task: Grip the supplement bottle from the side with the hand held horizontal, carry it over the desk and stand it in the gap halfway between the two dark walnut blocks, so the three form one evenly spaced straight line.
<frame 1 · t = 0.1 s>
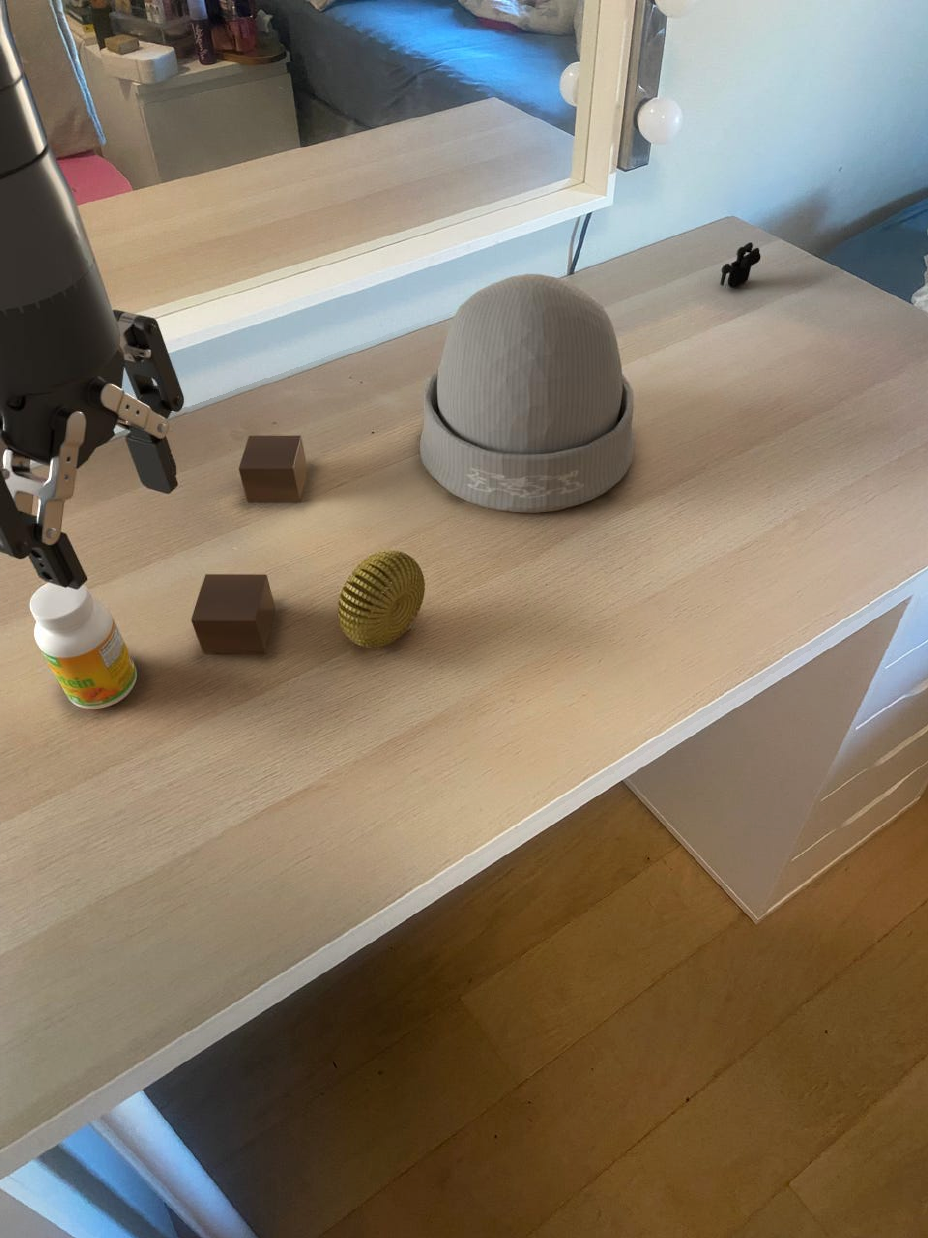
hand: (117, 532, 52), 20 cm above the table, tool pointing down, fingers open, 8 cm apart
sculpture: (386, 634, 73), on the table
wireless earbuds: (739, 287, 109), on the table
block near: (240, 630, 73), on the table
block far: (278, 485, 85), on the table
beanie hat: (526, 448, 89), on the table
supplement bottle: (103, 685, 70), on the table
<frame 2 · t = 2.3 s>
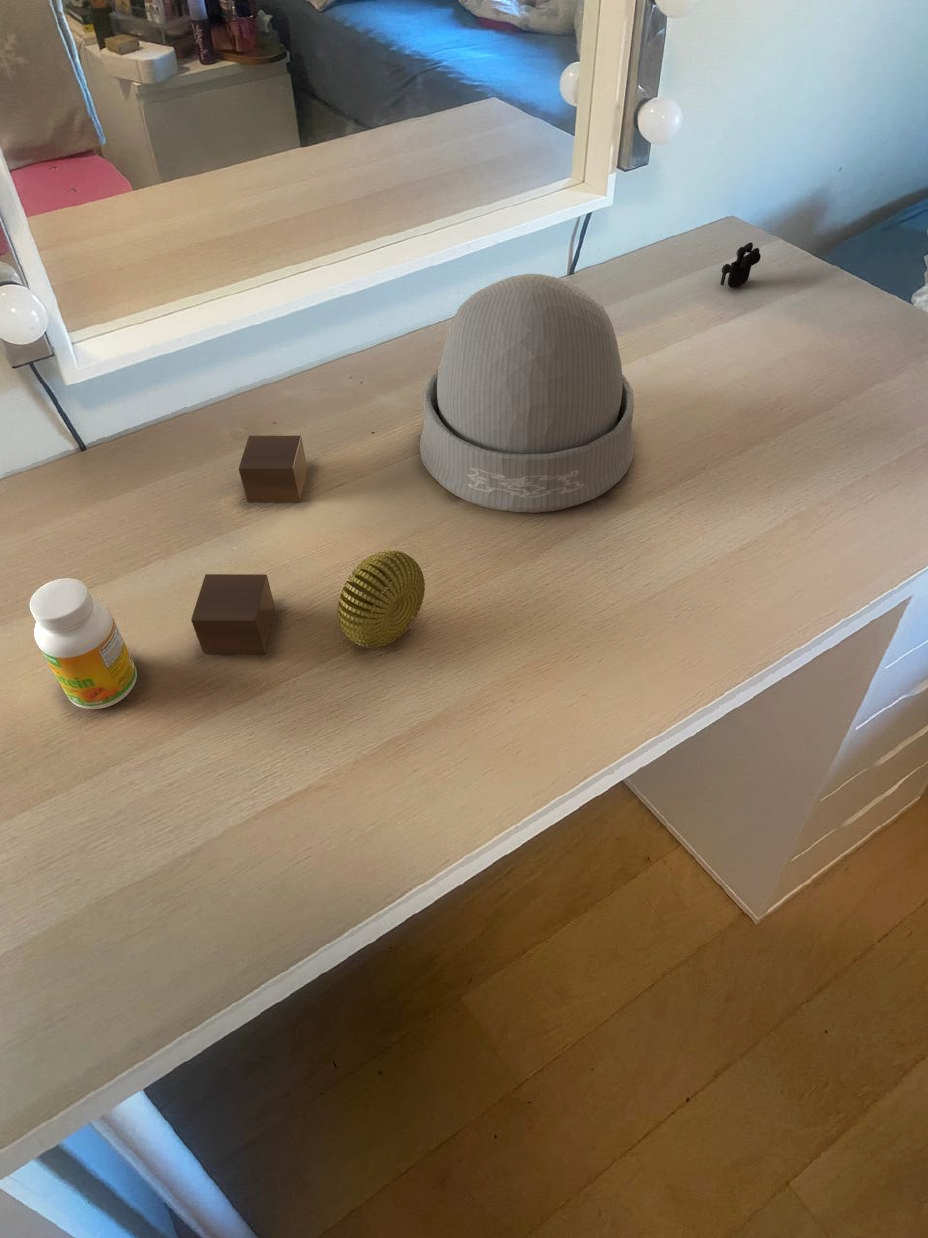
nothing on the table moved.
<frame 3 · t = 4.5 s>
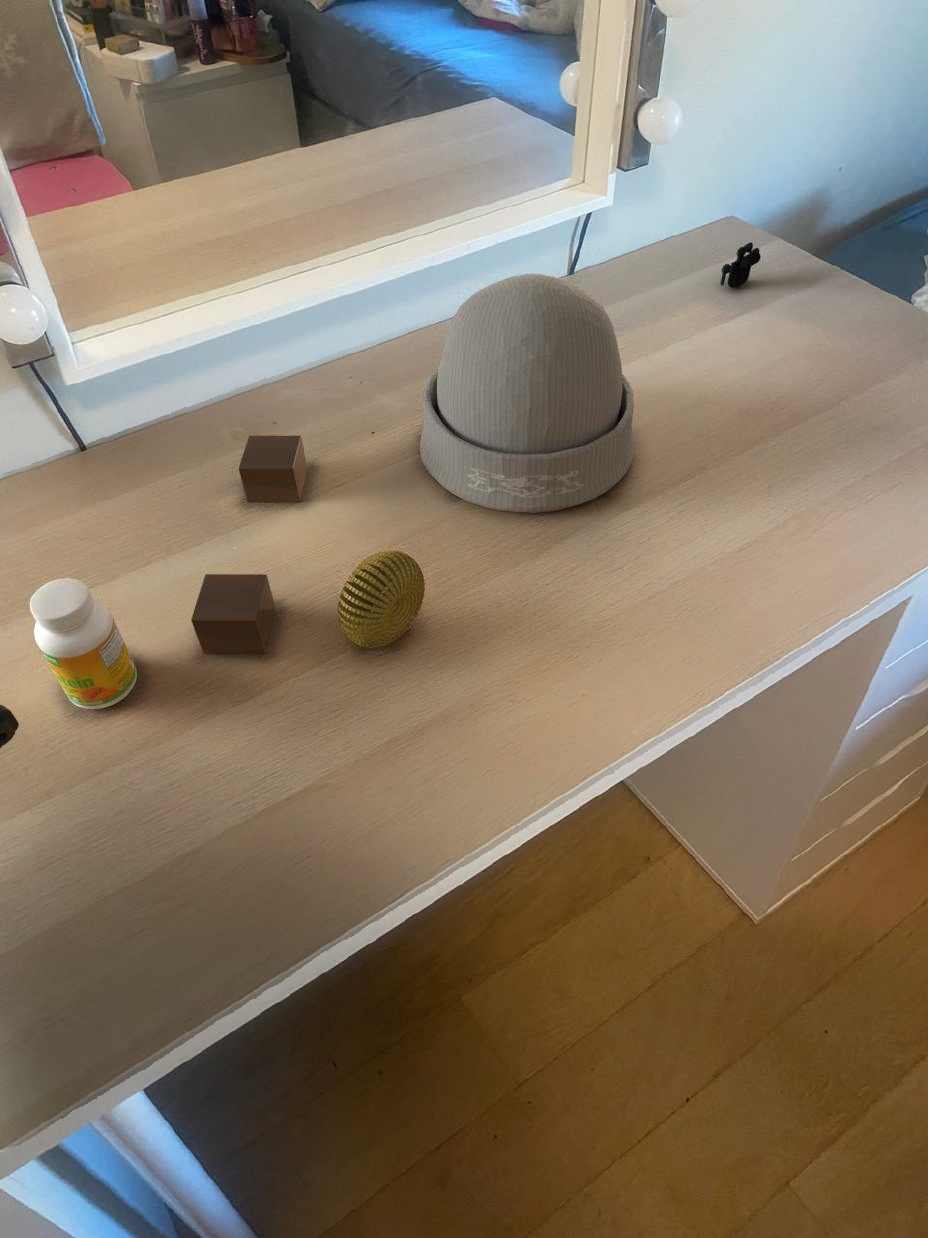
nothing on the table moved.
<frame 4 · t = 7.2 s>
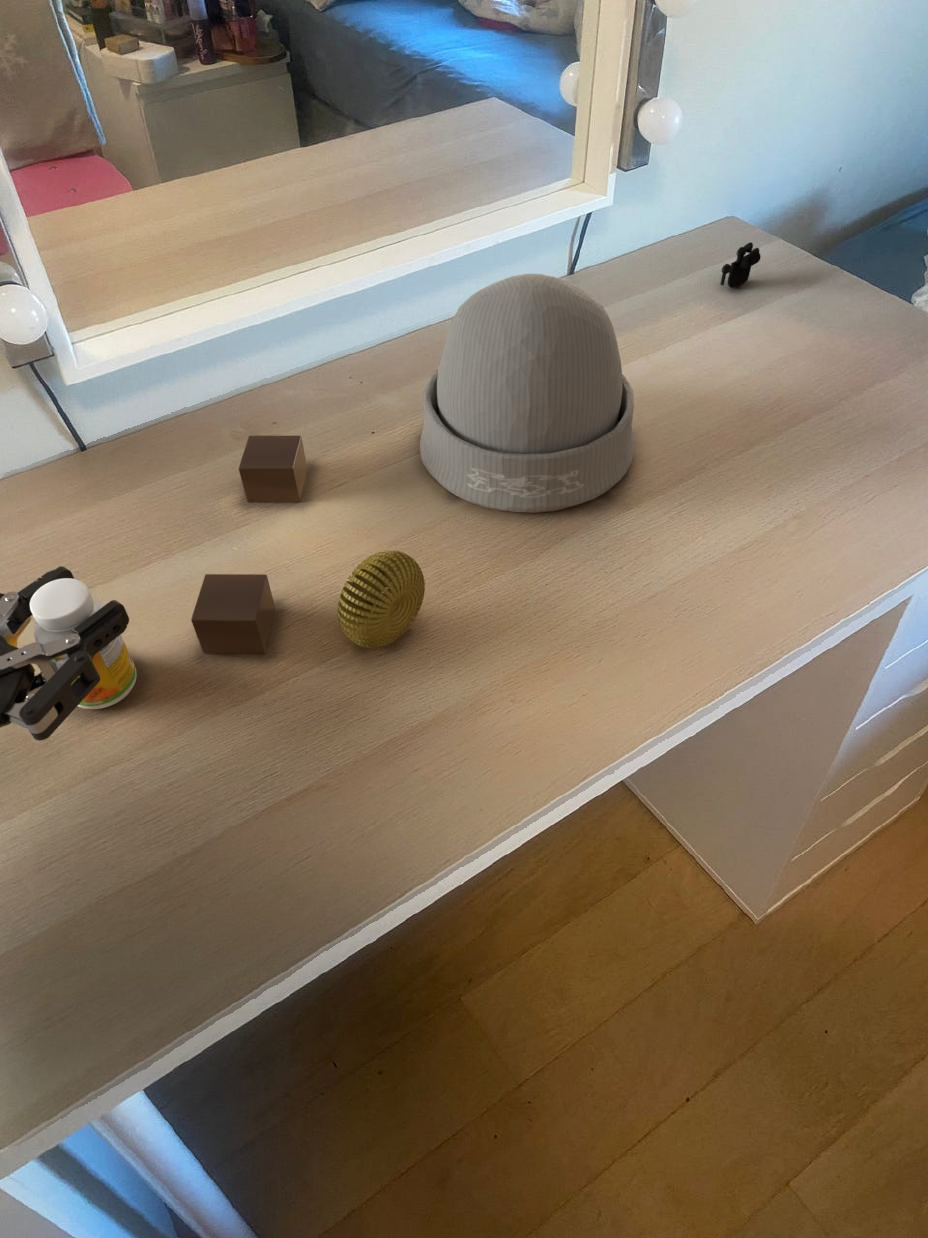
hand: (95, 593, 65), 8 cm above the table, tool horizontal, fingers closed on supplement bottle, 5 cm apart
supplement bottle: (103, 685, 70), on the table, touching gripper
everything else where it was.
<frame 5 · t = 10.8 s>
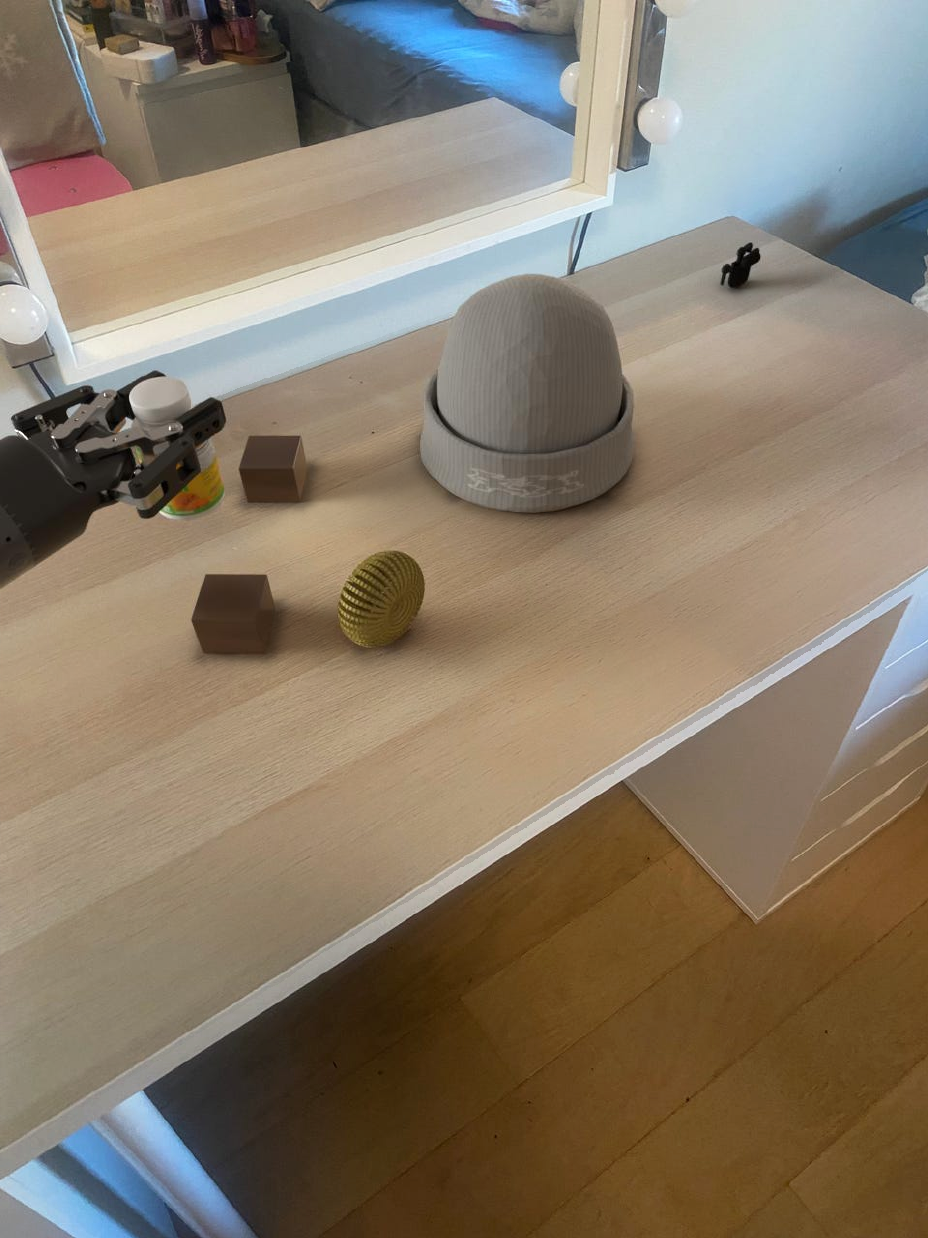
hand: (191, 396, 65), 18 cm above the table, tool horizontal, fingers closed on supplement bottle, 5 cm apart
supplement bottle: (191, 501, 69), point 9 cm above the table, touching gripper
everything else where it was.
when the fingers open (8 cm above the table, at t = 14.6 s): supplement bottle stays where it is, on the table.
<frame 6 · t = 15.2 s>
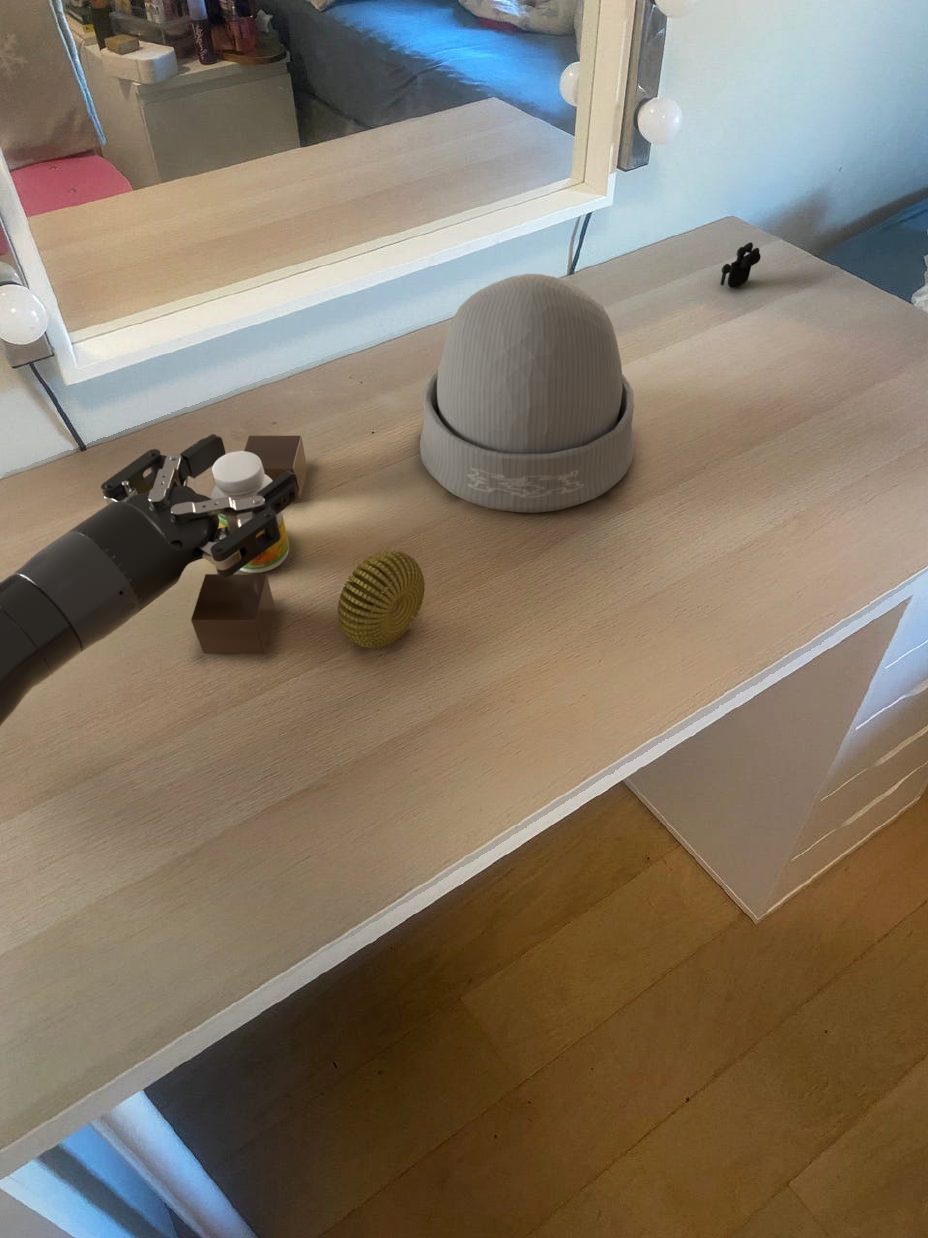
hand: (256, 461, 74), 9 cm above the table, tool horizontal, fingers open, 8 cm apart
supplement bottle: (260, 555, 79), on the table
everything else where it was.
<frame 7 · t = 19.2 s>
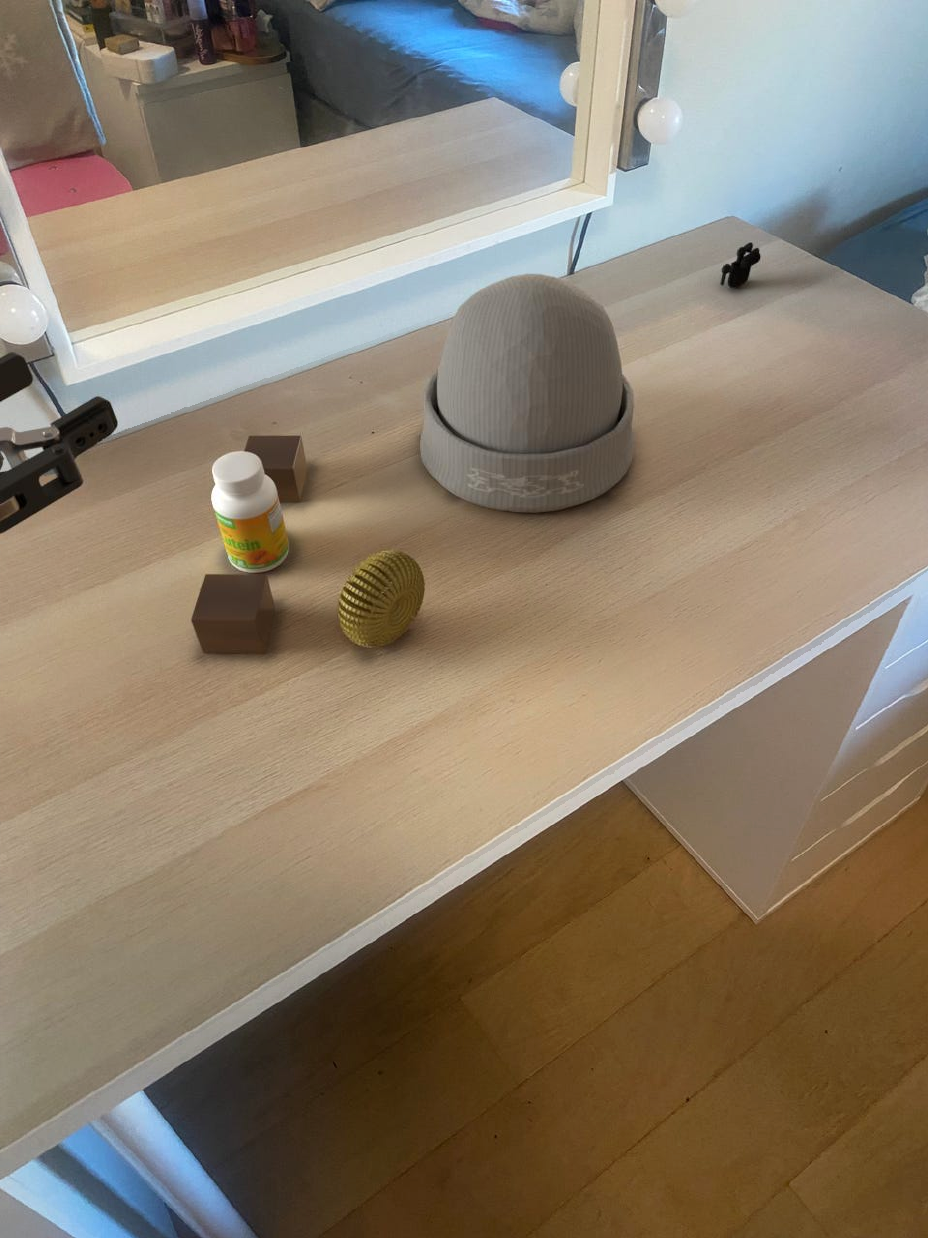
hand: (66, 387, 56), 23 cm above the table, tool horizontal, fingers open, 8 cm apart
nothing on the table moved.
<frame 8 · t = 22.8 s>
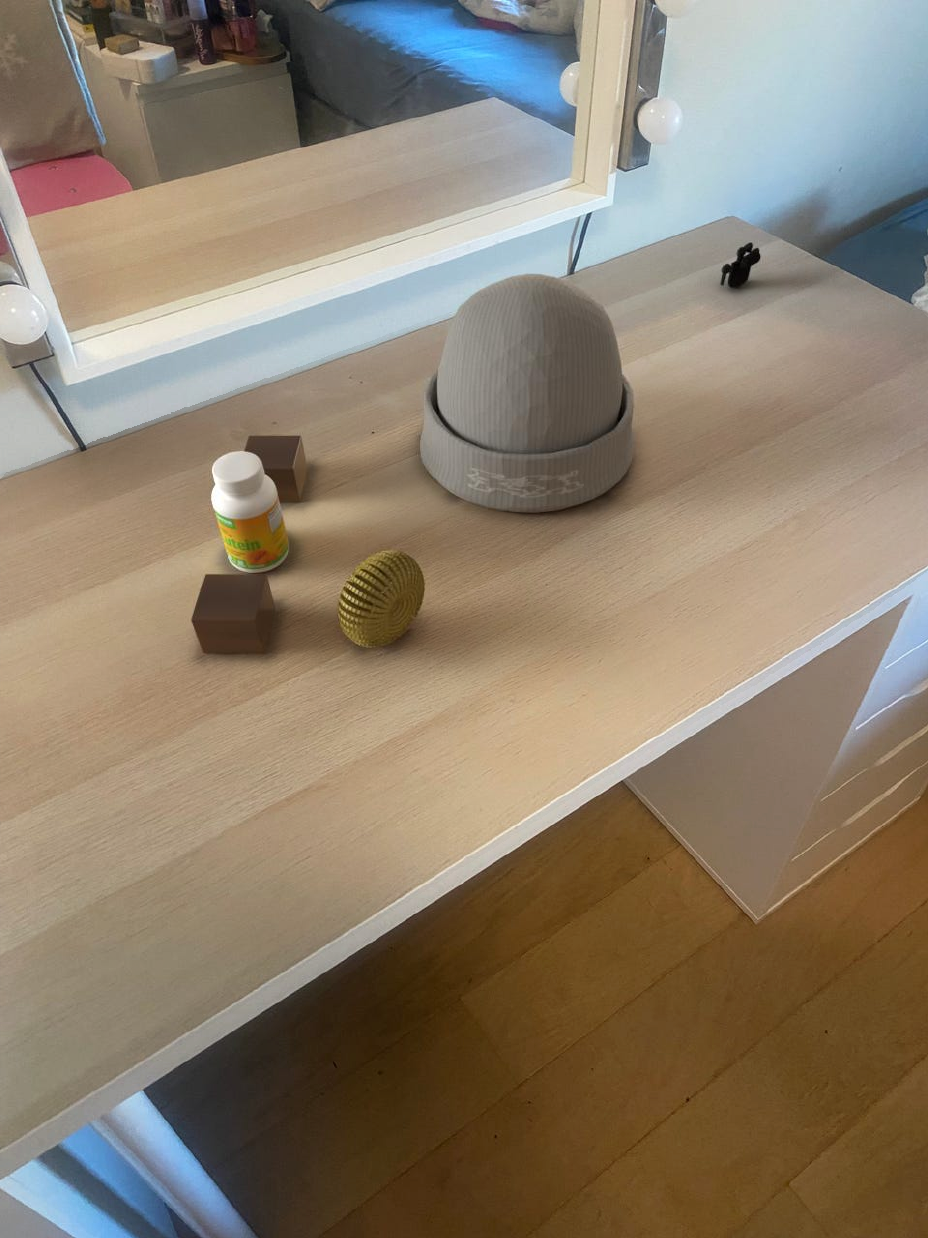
nothing on the table moved.
at the end: supplement bottle 0.2 cm from the target spot on the table beside the block far, on the table; supplement bottle 9.0 cm from the block near (horizontally); supplement bottle tilted 0° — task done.
